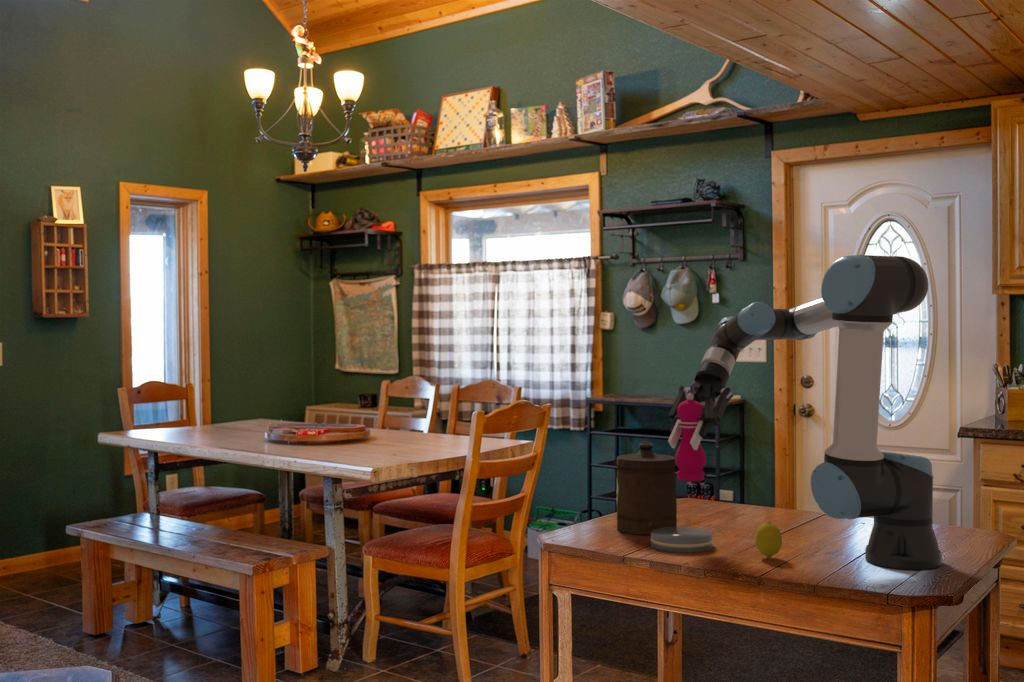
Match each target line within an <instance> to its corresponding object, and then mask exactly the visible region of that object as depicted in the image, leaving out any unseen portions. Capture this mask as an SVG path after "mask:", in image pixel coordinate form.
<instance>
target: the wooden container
mask: <svg viewBox="0 0 1024 682" xmlns="http://www.w3.org/2000/svg"><path fill="white" fill-rule="evenodd" d="M653 448H654V445H653V443H652V442H650V441H649V440H643V441H641V442H639V451H638V452H637V453H626V454H620V455H617V457H616V528H617V529H616V530H618V531H620V532H622V533H626V534H631V535H642V536H651V531H652V530H654V529H658V528H664V527H678V526H677V524H678V523H677V522H678V520H677V512H678V507H677V505H678V504H677V485H676V484H677V482H676V479H677V474H676V466H677V465H676V464H675V456H673V455H669V454H660V453H659V454H658V453H655V452H654V451H653V450H652V449H653Z"/></svg>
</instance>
